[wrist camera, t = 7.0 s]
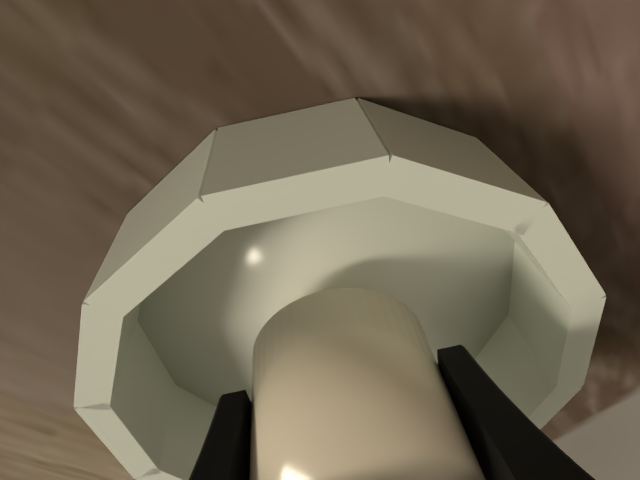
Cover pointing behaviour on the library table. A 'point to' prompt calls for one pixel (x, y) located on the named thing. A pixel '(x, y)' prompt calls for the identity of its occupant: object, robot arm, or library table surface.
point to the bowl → (324, 270)
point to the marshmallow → (352, 395)
